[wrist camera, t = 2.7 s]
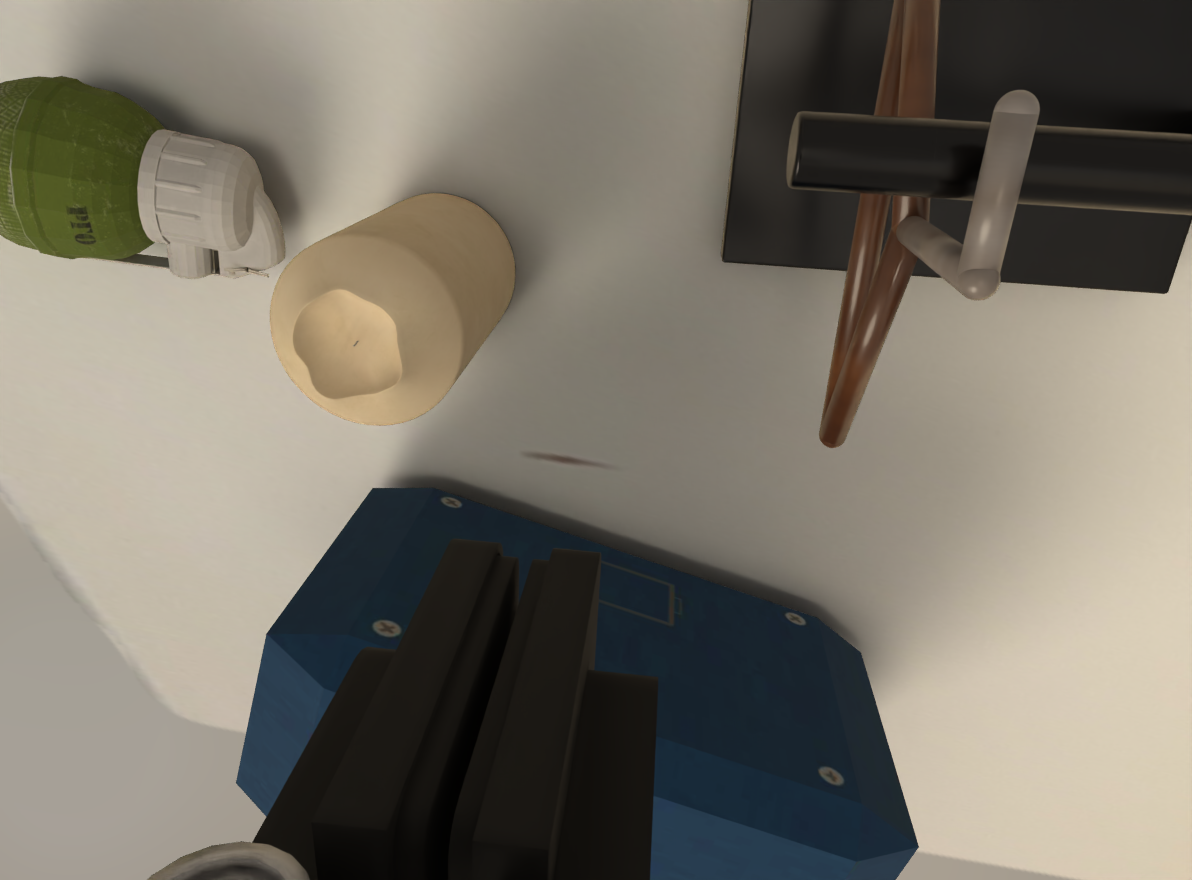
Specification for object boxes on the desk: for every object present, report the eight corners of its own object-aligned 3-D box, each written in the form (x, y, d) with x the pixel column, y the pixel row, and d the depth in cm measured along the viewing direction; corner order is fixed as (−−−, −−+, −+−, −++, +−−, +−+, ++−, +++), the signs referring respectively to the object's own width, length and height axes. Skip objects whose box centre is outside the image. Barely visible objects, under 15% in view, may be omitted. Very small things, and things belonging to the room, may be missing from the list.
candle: (546, 251, 31) (488, 330, 22) (467, 367, 33) (385, 482, 24) (417, 159, 30) (302, 200, 21) (345, 283, 32) (211, 370, 23)
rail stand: (756, -69, 26) (852, -243, 11) (1260, -45, 25) (2103, -202, 10) (719, 255, 30) (755, 445, 15) (1153, 286, 30) (1645, 521, 14)
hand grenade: (-57, 287, 28) (262, 337, 29) (-116, 90, 24) (254, 158, 25) (34, 211, 32) (305, 257, 34) (-4, 36, 29) (304, 96, 30)
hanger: (909, -110, 18) (1081, -240, 10) (943, -108, 18) (1141, -238, 10) (815, 440, 23) (881, 631, 15) (841, 442, 23) (921, 634, 15)
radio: (346, 619, 39) (44, 1118, 20) (388, 454, 35) (66, 881, 17) (780, 761, 40) (862, 1360, 21) (864, 615, 36) (1049, 1185, 18)
